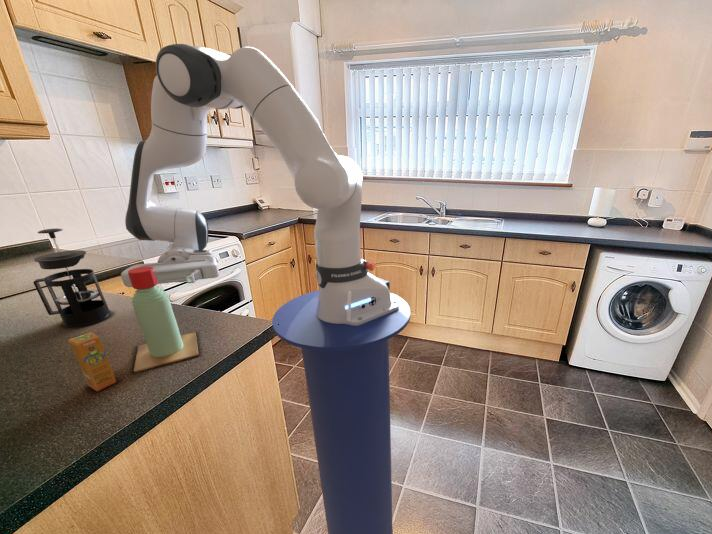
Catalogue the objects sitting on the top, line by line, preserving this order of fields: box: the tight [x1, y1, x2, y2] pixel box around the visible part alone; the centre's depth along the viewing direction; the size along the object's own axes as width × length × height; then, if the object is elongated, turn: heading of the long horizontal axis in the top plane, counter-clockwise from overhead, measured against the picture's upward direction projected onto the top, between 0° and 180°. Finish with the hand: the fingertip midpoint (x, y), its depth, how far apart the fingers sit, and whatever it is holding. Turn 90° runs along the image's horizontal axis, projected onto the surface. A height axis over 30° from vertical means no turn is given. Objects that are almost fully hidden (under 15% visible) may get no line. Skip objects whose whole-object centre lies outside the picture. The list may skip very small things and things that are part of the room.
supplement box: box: [67, 331, 117, 392], centre depth 60 cm, size 3×3×10 cm
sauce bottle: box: [131, 285, 183, 357], centre depth 68 cm, size 6×6×18 cm
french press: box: [32, 227, 112, 329], centre depth 81 cm, size 12×9×23 cm
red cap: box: [128, 266, 159, 290], centre depth 65 cm, size 4×4×3 cm
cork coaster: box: [133, 331, 200, 373], centre depth 72 cm, size 11×11×1 cm
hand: (166, 282), depth 78 cm, fingers open, 8 cm apart
